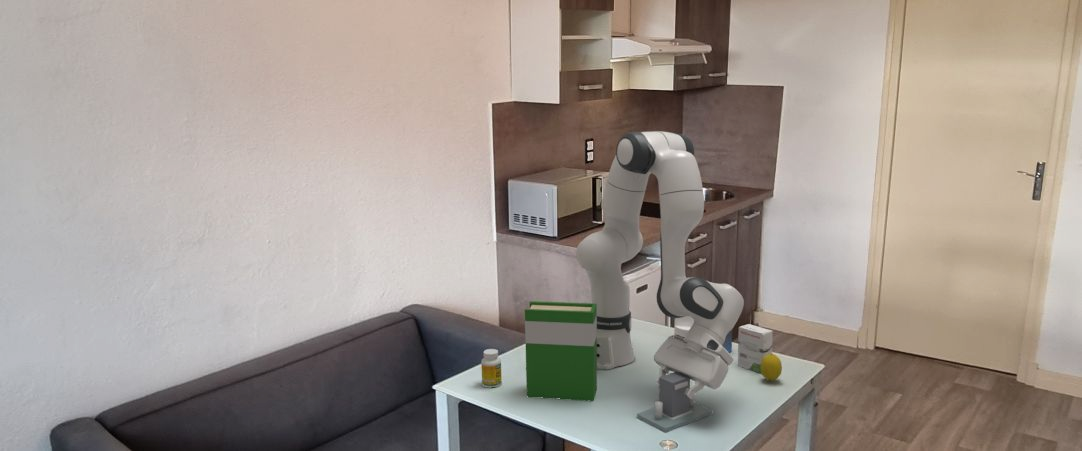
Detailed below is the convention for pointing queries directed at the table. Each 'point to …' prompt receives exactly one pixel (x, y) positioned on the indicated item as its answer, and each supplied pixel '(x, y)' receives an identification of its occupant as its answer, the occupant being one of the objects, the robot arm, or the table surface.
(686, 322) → the base with upright slab
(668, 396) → the block
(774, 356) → the lemon
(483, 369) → the supplement bottle
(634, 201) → the robot arm
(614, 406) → the table surface
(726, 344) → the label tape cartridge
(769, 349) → the ink box
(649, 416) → the tray
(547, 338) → the hardback book
